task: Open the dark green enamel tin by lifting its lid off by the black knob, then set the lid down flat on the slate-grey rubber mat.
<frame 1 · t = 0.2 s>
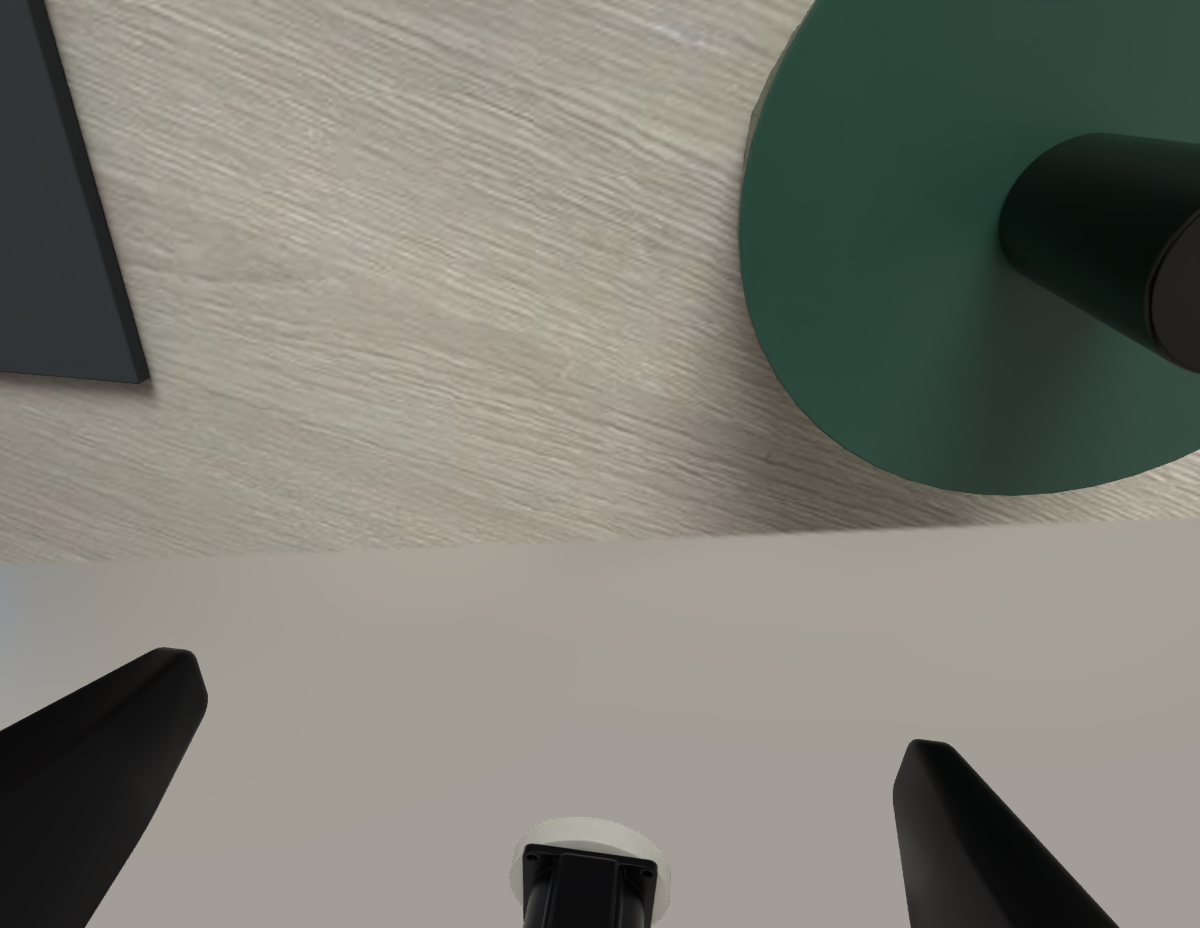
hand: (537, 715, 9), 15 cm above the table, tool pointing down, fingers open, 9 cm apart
tin lid: (1062, 207, 12), point 7 cm above the table, touching tin
tin: (939, 165, 18), on the table
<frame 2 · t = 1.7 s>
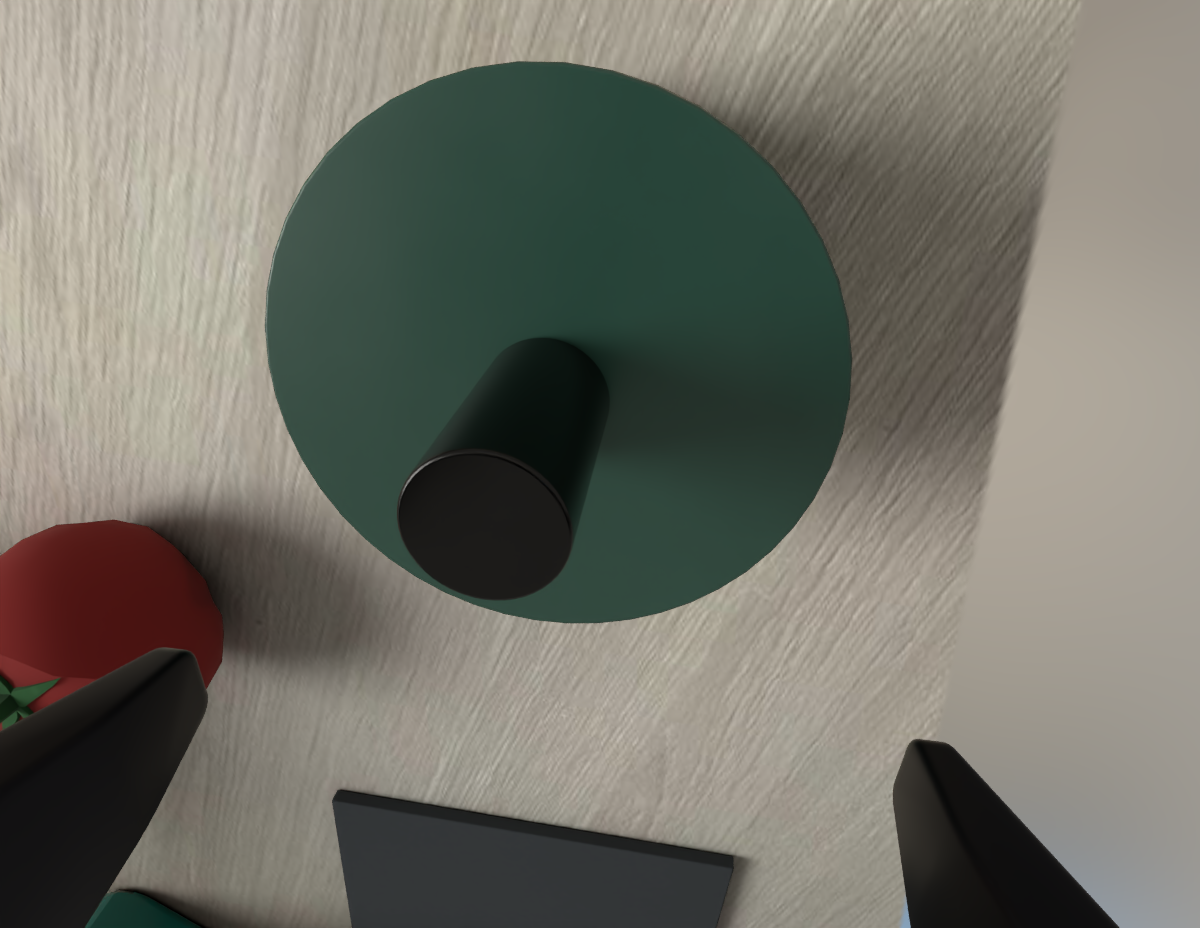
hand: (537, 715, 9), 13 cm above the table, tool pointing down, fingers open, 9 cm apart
mat: (525, 921, 35), on the table
tin lid: (551, 387, 14), point 7 cm above the table, touching tin
tomato: (162, 576, 27), on the table
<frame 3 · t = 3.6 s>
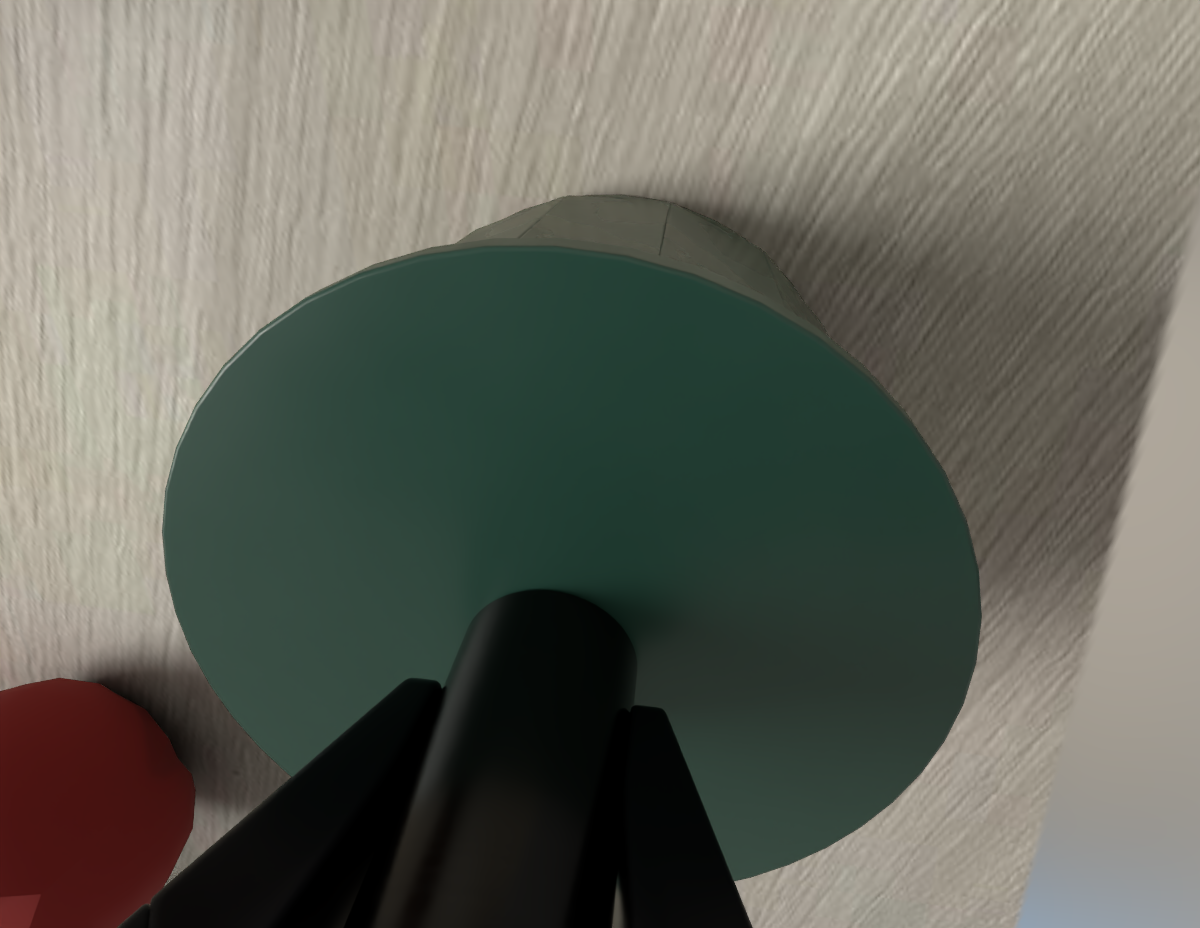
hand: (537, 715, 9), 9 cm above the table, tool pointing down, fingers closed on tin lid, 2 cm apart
tin lid: (556, 632, 10), point 7 cm above the table, touching gripper, tin
tomato: (124, 725, 24), on the table
tin: (608, 424, 16), on the table
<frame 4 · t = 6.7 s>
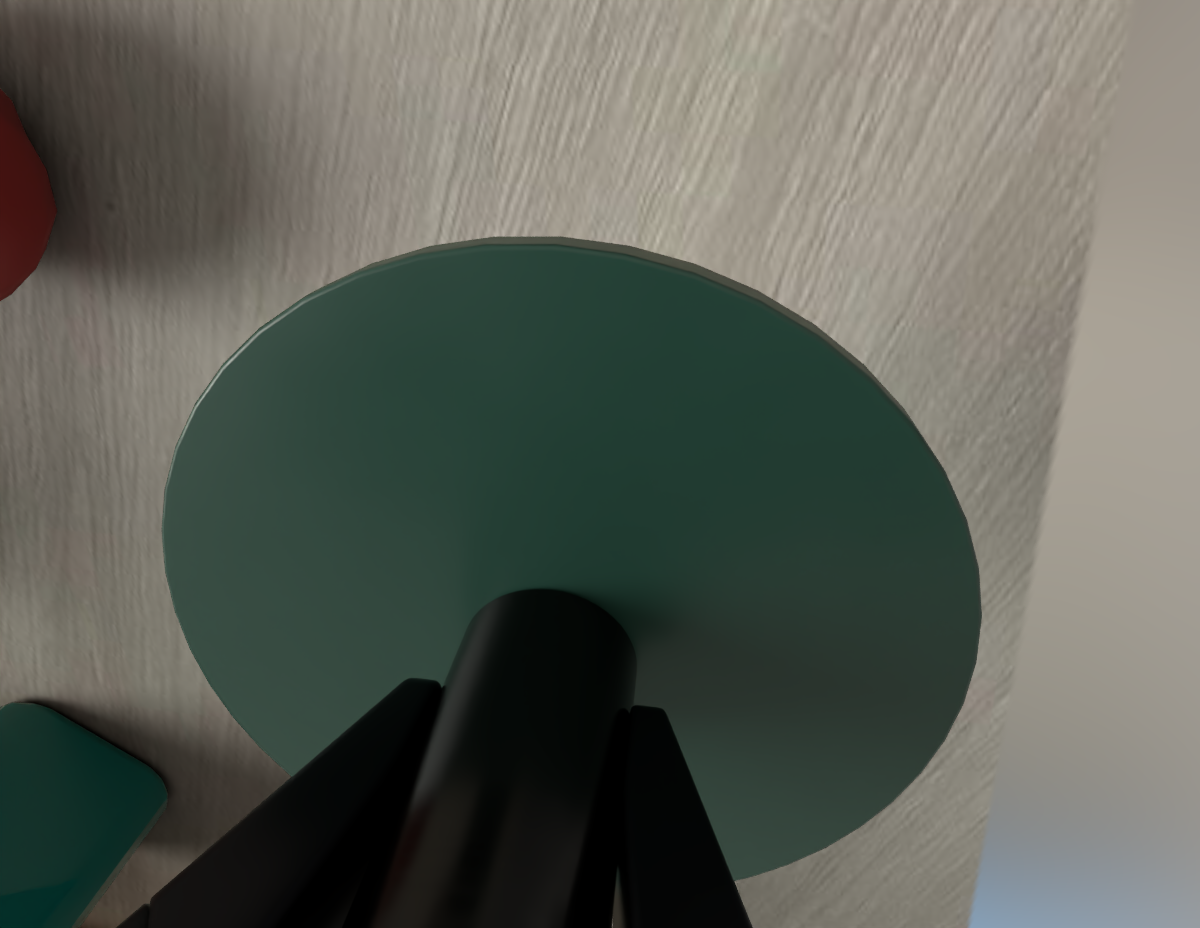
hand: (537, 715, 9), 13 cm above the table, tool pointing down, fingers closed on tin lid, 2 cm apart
tin lid: (556, 631, 10), point 12 cm above the table, touching gripper
pitcher: (71, 776, 34), on the table
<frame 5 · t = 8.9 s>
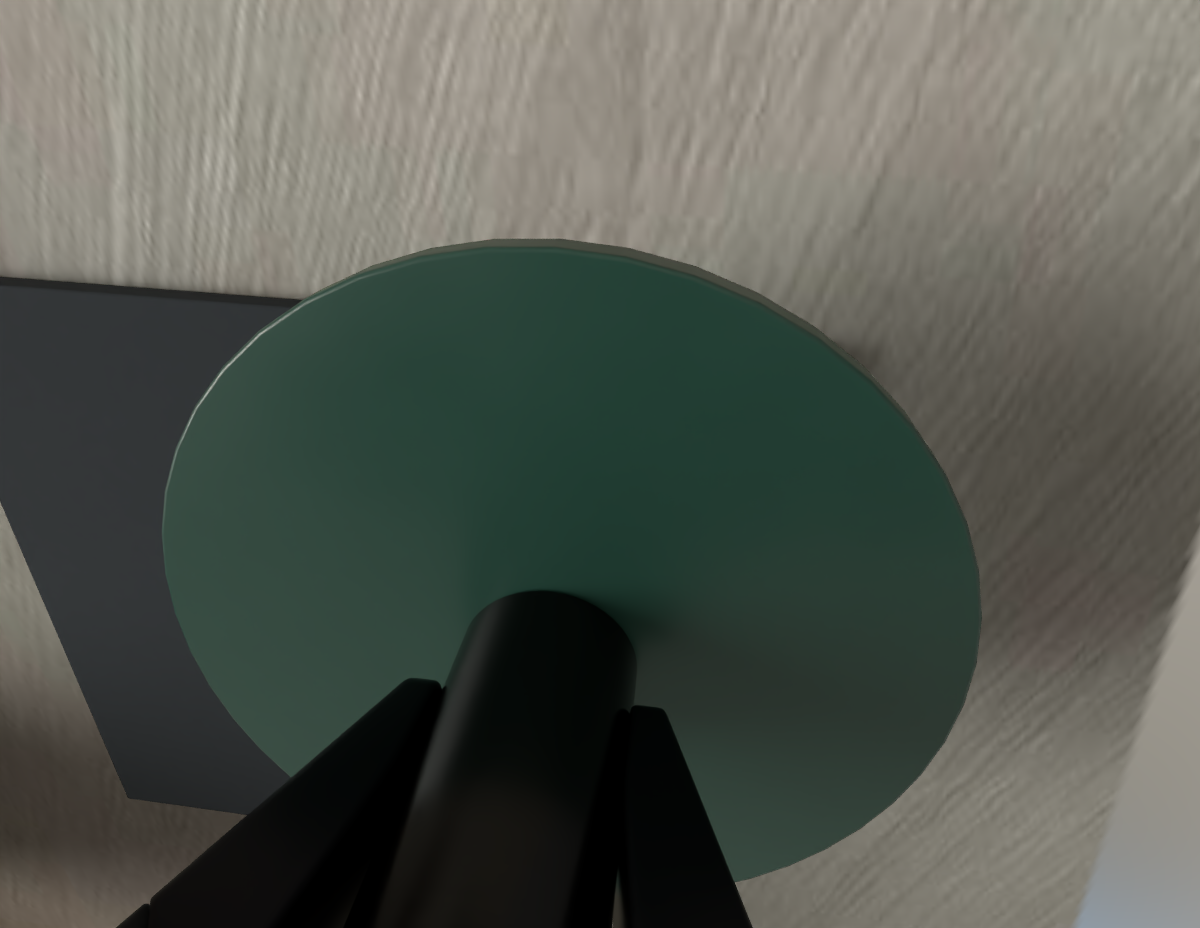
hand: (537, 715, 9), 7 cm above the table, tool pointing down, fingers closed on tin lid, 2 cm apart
mat: (391, 617, 18), on the table
tin lid: (556, 632, 10), point 5 cm above the table, touching gripper
when the fingers open (3 cm above the table, at t = 10.1 s): tin lid stays where it is, resting on mat.
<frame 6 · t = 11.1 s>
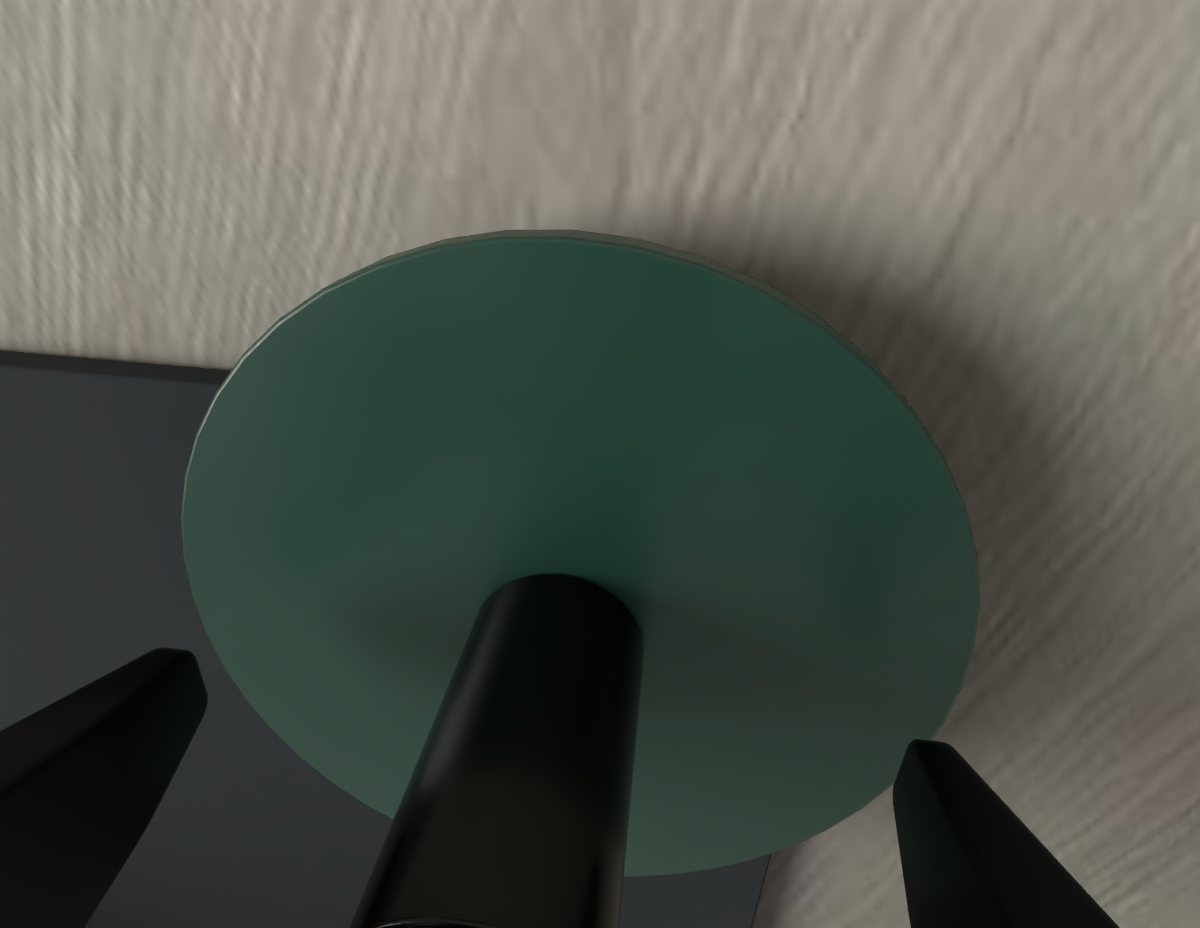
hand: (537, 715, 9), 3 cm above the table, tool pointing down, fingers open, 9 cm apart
mat: (324, 741, 14), on the table
tin lid: (565, 616, 10), point 1 cm above the table, touching mat
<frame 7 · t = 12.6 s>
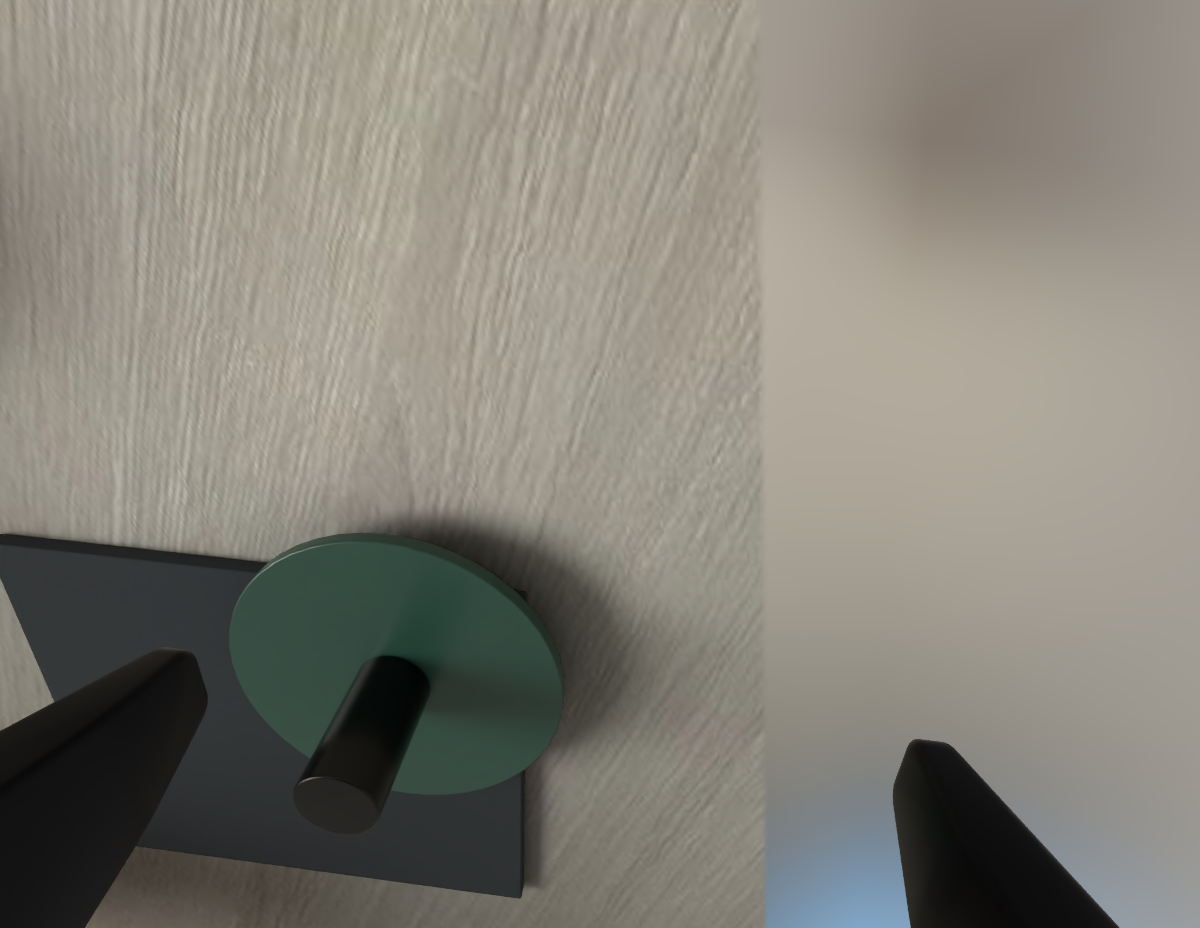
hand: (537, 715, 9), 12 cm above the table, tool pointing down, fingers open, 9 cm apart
mat: (293, 730, 27), on the table
tin lid: (400, 671, 23), point 1 cm above the table, touching mat
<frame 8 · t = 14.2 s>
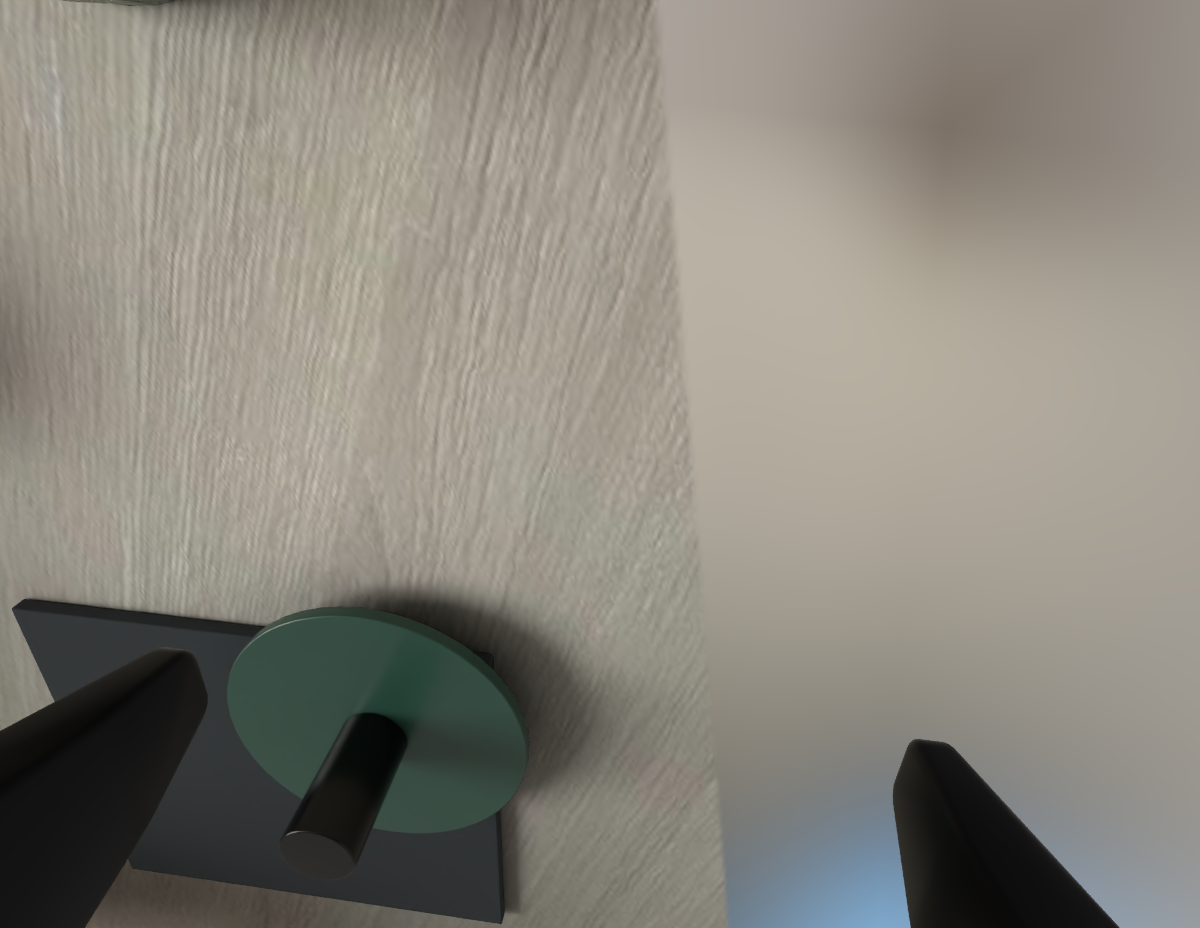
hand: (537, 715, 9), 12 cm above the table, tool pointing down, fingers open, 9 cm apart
mat: (289, 771, 29), on the table
tin lid: (381, 724, 26), point 1 cm above the table, touching mat
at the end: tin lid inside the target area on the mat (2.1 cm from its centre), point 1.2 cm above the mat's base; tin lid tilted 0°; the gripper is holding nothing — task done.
